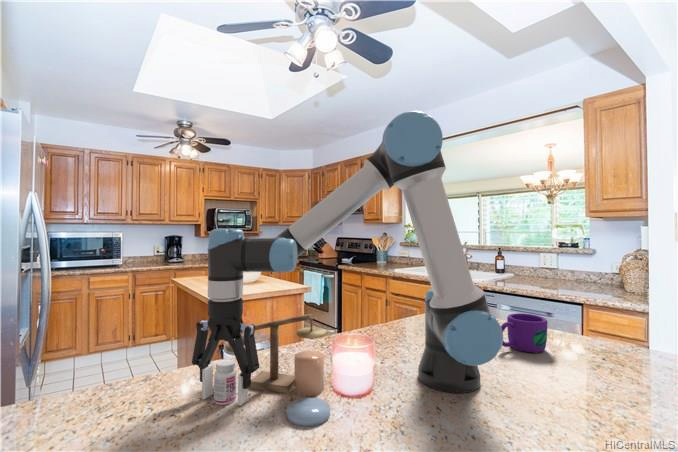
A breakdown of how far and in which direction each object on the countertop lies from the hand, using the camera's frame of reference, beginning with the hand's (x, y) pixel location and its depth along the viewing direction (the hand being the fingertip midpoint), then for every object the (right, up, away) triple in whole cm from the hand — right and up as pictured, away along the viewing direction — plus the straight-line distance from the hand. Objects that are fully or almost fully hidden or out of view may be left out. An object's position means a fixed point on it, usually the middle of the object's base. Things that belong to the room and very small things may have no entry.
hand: (224, 399), depth 78 cm
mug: (+83, -1, +34) cm, 90 cm away
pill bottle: (0, 0, 0) cm, 0 cm away
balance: (+10, 0, +8) cm, 12 cm away
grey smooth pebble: (+19, 0, -6) cm, 20 cm away
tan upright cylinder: (+18, 0, +6) cm, 19 cm away
